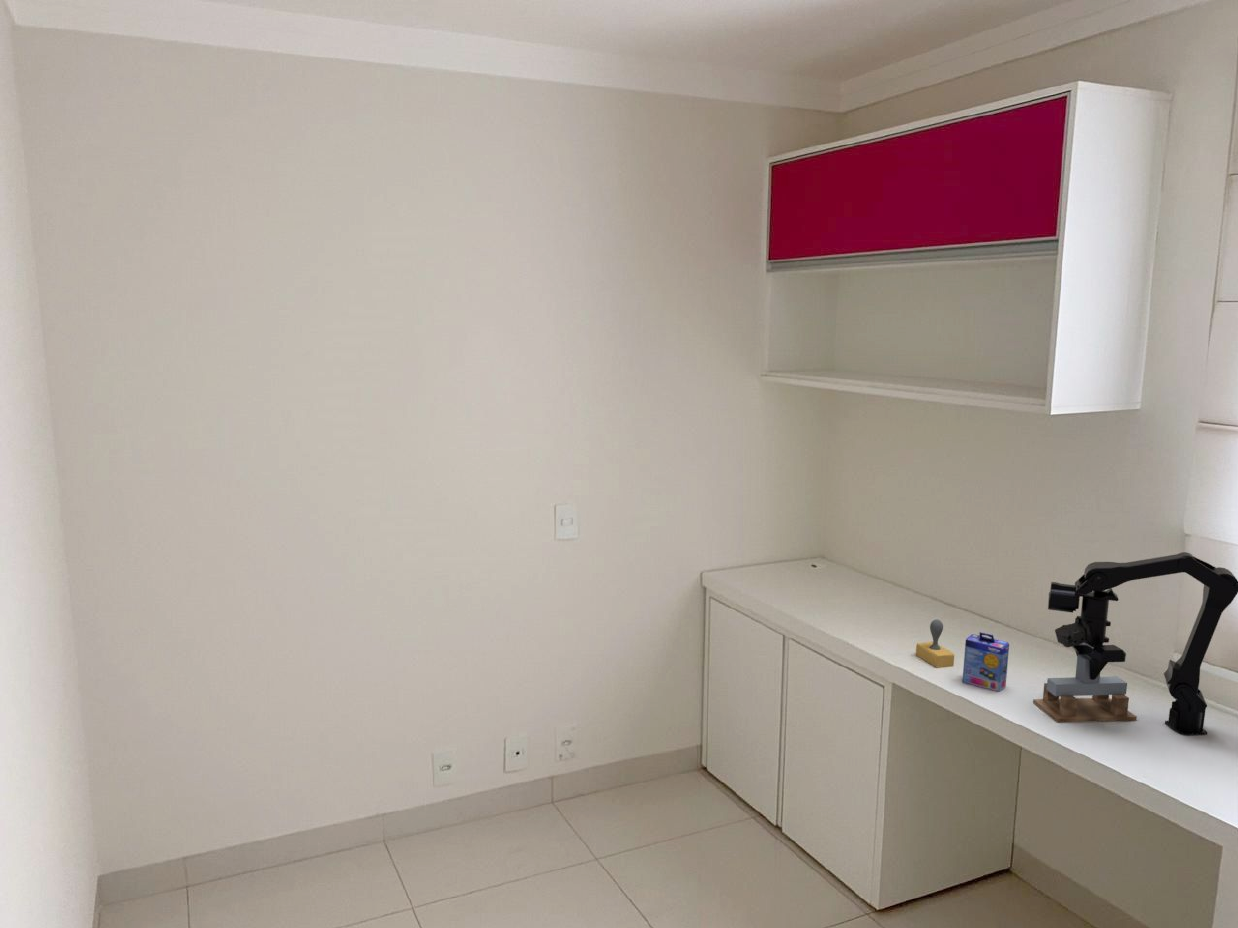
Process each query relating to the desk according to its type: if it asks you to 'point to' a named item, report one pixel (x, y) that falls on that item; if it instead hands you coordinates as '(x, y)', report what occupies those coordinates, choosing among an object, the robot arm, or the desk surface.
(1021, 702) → the desk surface
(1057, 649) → the desk surface
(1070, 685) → the bar
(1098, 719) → the cradle
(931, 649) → the rubber stamp
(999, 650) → the ink cartridge box
